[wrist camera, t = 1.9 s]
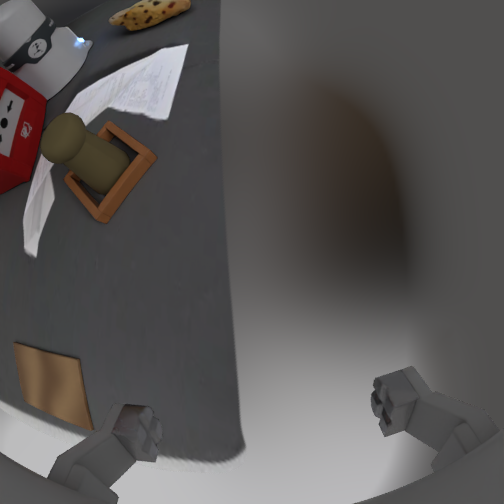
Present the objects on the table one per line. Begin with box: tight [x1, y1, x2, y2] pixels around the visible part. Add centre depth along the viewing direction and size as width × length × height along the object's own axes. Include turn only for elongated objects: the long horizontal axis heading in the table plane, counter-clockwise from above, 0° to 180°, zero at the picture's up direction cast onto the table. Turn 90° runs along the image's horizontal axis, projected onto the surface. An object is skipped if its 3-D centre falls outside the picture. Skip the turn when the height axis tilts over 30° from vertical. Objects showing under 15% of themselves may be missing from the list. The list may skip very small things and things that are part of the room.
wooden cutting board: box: [13, 342, 94, 431], centre depth 26 cm, size 16×10×1 cm, turn 93°
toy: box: [109, 0, 191, 31], centre depth 31 cm, size 6×15×10 cm
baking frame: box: [63, 120, 157, 224], centre depth 28 cm, size 10×10×2 cm
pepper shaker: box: [40, 113, 130, 195], centre depth 23 cm, size 6×6×11 cm
